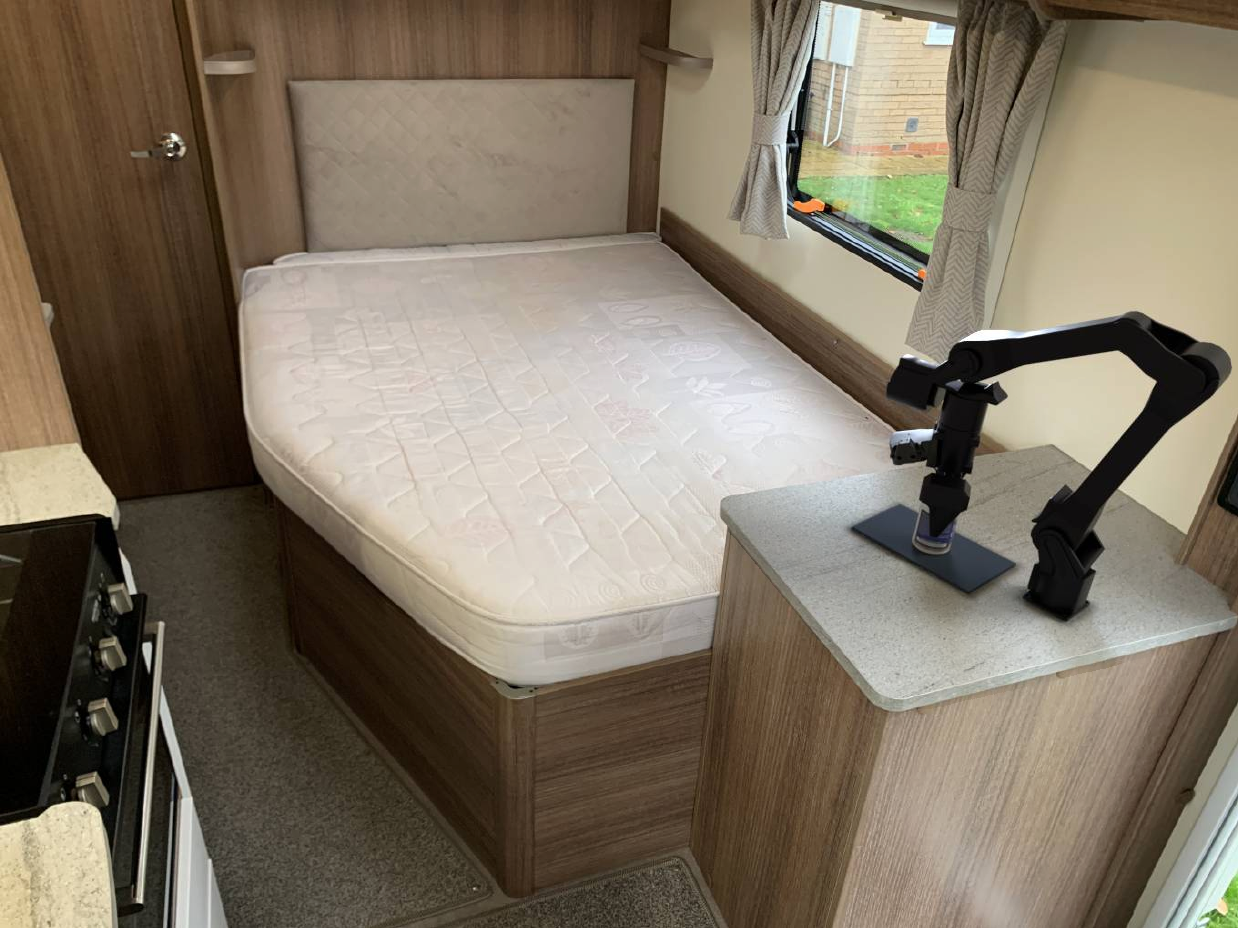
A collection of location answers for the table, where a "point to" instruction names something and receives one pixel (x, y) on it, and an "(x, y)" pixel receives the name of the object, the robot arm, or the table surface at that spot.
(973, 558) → the rubber mat
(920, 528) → the pill bottle
